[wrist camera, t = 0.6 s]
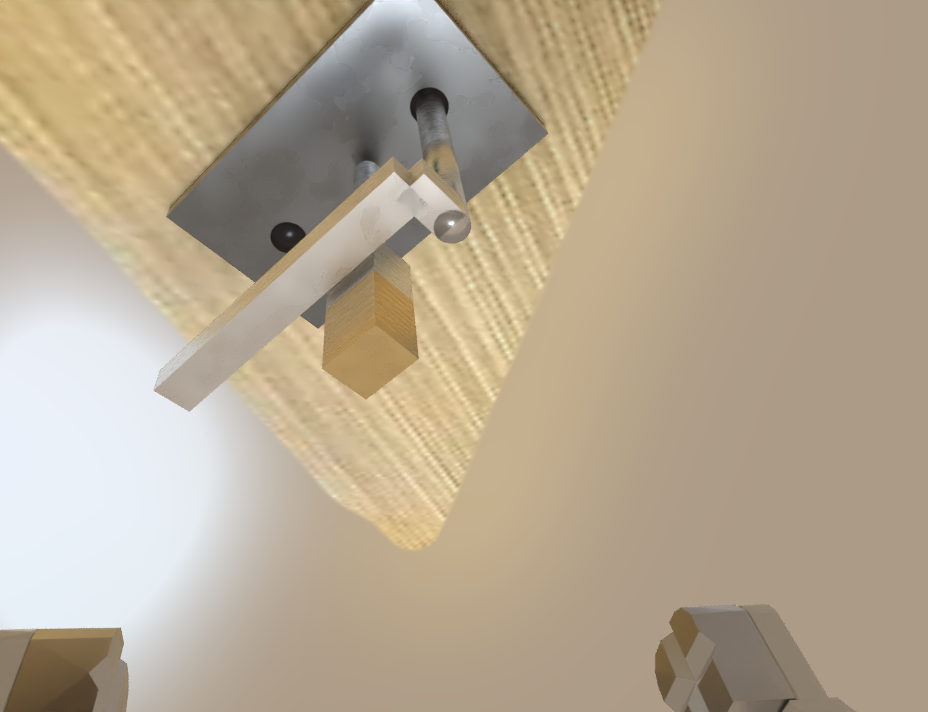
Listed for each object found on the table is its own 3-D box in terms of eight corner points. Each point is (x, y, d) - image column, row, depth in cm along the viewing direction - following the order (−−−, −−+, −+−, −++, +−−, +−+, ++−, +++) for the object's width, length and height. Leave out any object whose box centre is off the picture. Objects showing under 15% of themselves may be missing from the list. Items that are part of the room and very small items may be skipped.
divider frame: (396, 50, 40) (408, 158, 30) (449, 107, 43) (478, 227, 32) (201, 242, 46) (153, 390, 36) (257, 283, 49) (227, 434, 38)
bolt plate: (405, -38, 39) (406, -32, 38) (544, 125, 45) (548, 133, 44) (170, 207, 46) (166, 217, 45) (318, 318, 52) (317, 329, 51)
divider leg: (370, 137, 43) (375, 325, 29) (400, 165, 44) (418, 358, 30) (334, 171, 44) (322, 368, 30) (364, 198, 45) (366, 399, 31)
